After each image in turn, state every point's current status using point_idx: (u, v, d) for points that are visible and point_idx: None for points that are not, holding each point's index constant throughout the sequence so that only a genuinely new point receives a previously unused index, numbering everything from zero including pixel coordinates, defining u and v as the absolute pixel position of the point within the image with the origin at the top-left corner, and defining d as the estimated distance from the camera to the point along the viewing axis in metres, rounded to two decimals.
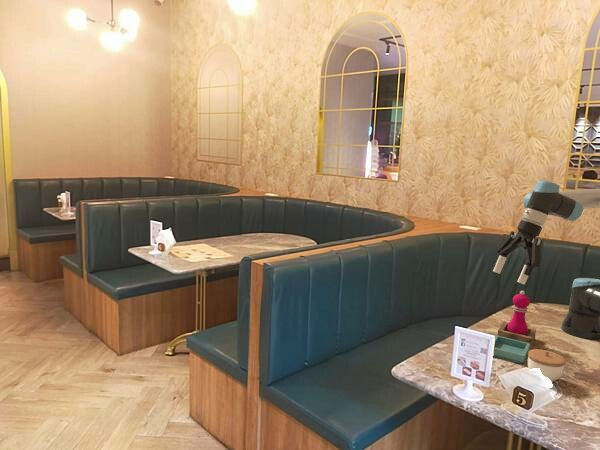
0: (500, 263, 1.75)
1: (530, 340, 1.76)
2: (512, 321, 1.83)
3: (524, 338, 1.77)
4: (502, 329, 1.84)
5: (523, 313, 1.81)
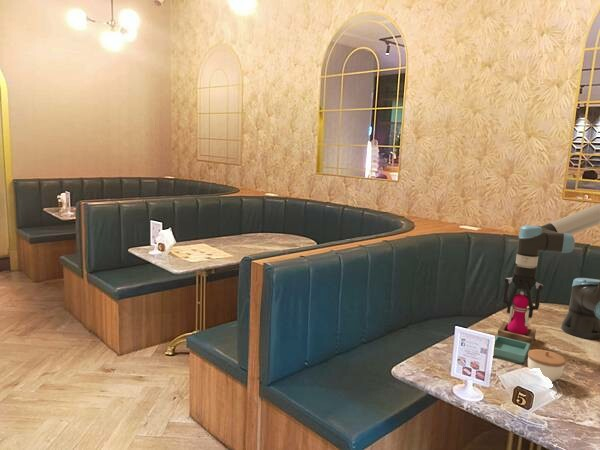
0: (512, 312, 1.84)
1: (530, 340, 1.76)
2: (512, 321, 1.83)
3: (524, 338, 1.77)
4: (502, 329, 1.84)
5: (523, 313, 1.81)
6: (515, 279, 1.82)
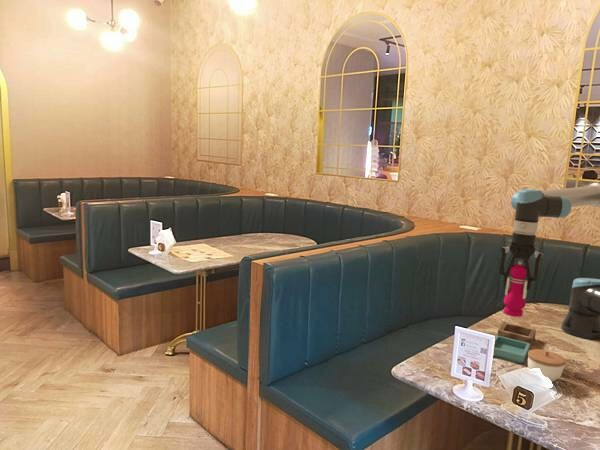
0: (509, 284, 1.70)
1: (530, 340, 1.76)
2: (509, 293, 1.69)
3: (524, 338, 1.77)
4: (502, 329, 1.84)
5: (521, 285, 1.67)
6: (512, 248, 1.67)
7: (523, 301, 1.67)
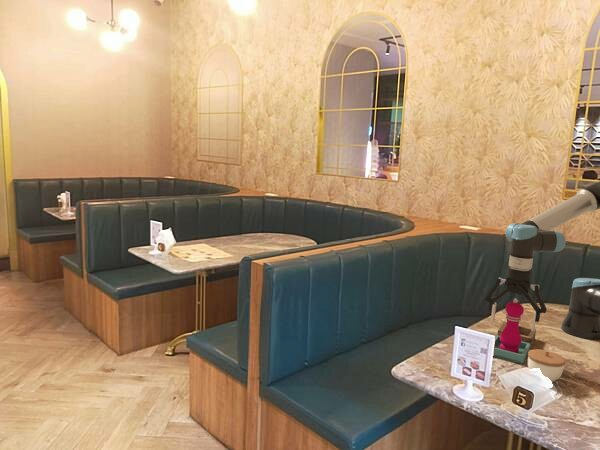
0: (494, 311, 1.73)
1: (530, 340, 1.76)
2: (505, 331, 1.70)
3: (524, 338, 1.77)
4: (502, 329, 1.84)
5: (516, 322, 1.68)
6: (508, 283, 1.68)
7: (519, 339, 1.68)
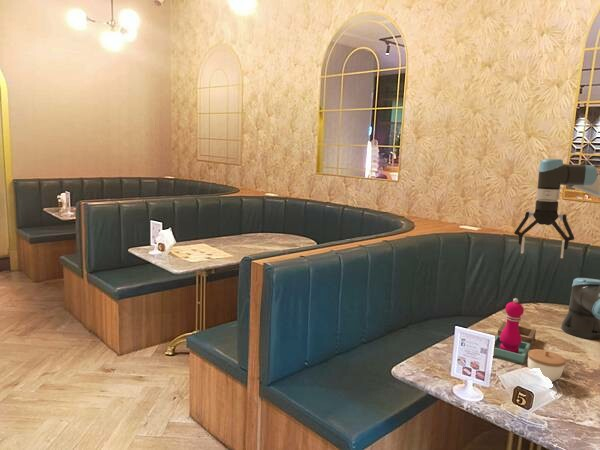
0: None
1: (530, 340, 1.76)
2: (505, 331, 1.70)
3: (524, 338, 1.77)
4: (502, 329, 1.84)
5: (516, 323, 1.68)
6: (536, 215, 1.78)
7: (519, 339, 1.68)
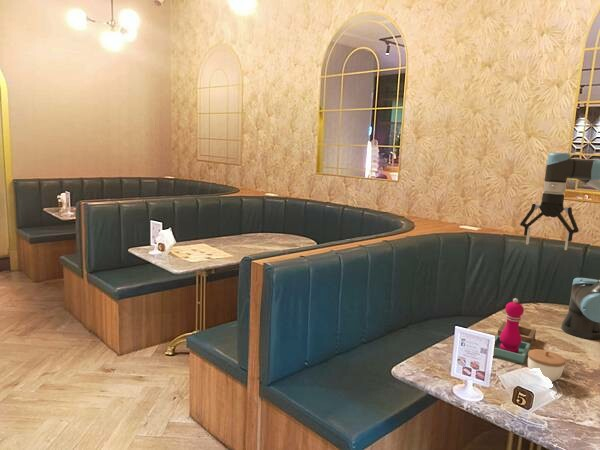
0: (529, 235, 1.87)
1: (530, 340, 1.76)
2: (505, 331, 1.70)
3: (524, 338, 1.77)
4: (502, 329, 1.84)
5: (516, 322, 1.68)
6: (542, 207, 1.83)
7: (519, 339, 1.68)
